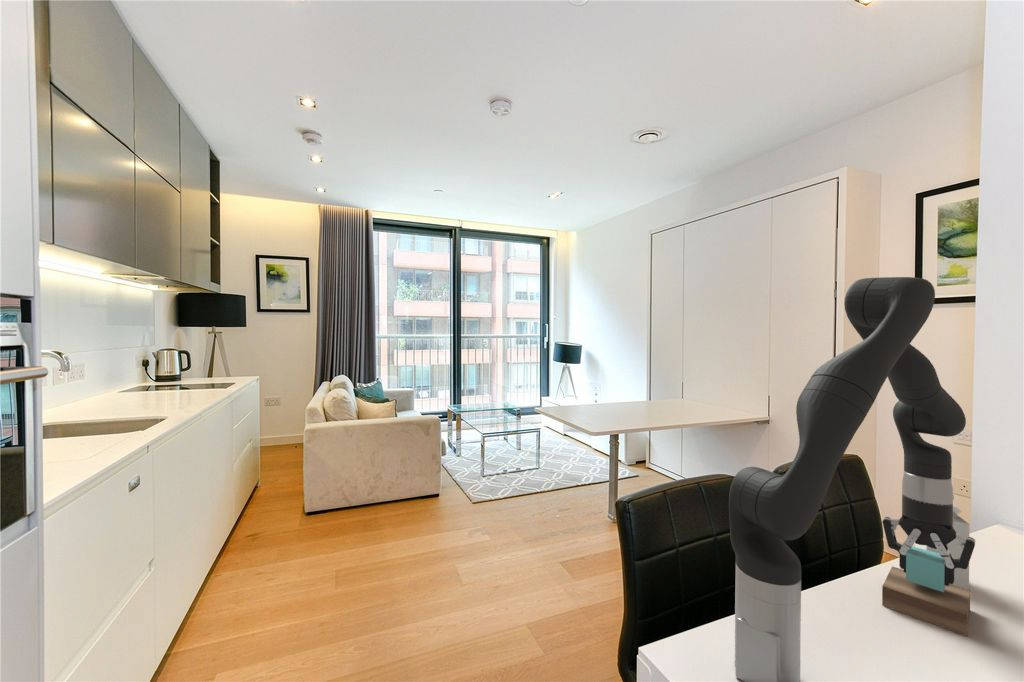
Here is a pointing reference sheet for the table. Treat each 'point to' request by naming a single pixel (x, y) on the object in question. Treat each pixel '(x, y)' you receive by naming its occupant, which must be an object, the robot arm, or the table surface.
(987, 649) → the table surface
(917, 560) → the teal cube
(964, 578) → the milk carton
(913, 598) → the walnut base
